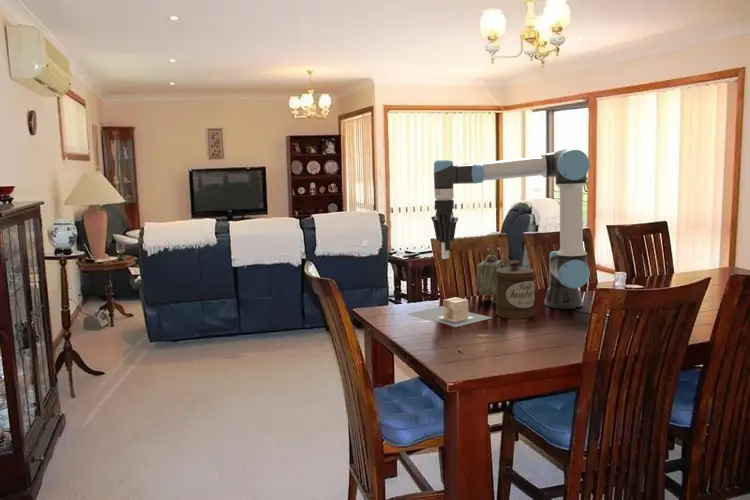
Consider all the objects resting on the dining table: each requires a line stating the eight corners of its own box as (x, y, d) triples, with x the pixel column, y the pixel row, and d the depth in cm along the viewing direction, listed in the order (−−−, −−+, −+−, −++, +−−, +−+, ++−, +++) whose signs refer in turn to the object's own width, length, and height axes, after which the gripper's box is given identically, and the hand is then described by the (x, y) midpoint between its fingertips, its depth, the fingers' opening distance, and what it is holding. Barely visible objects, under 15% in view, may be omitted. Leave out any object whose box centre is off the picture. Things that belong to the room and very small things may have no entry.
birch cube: (455, 297, 262) (456, 314, 263) (443, 299, 258) (443, 317, 259) (468, 299, 256) (468, 317, 257) (455, 302, 252) (455, 320, 253)
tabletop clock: (496, 305, 279) (496, 246, 275) (476, 303, 283) (475, 246, 279) (505, 298, 292) (505, 242, 288) (485, 296, 295) (485, 242, 292)
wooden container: (512, 320, 251) (512, 264, 248) (488, 313, 264) (488, 259, 261) (542, 315, 258) (542, 260, 255) (517, 308, 271) (517, 256, 268)
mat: (492, 318, 256) (492, 317, 256) (455, 327, 244) (455, 326, 244) (442, 306, 278) (442, 306, 278) (406, 314, 266) (406, 313, 266)
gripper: (425, 199, 261) (427, 258, 264) (448, 200, 251) (450, 261, 254) (439, 198, 266) (440, 255, 269) (462, 199, 256) (463, 258, 259)
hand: (445, 258), depth 262 cm, fingers closed
